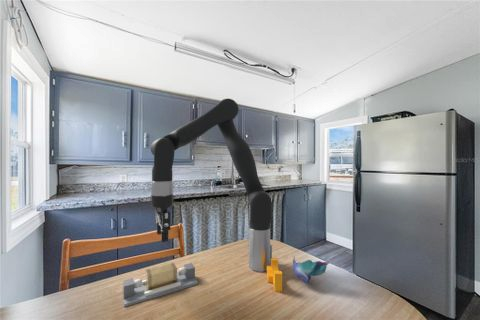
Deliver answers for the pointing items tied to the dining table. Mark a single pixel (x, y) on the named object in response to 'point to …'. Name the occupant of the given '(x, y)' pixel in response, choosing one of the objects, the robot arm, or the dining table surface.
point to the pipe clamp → (275, 275)
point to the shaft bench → (138, 292)
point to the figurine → (309, 269)
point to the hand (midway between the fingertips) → (162, 237)
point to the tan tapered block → (161, 276)
